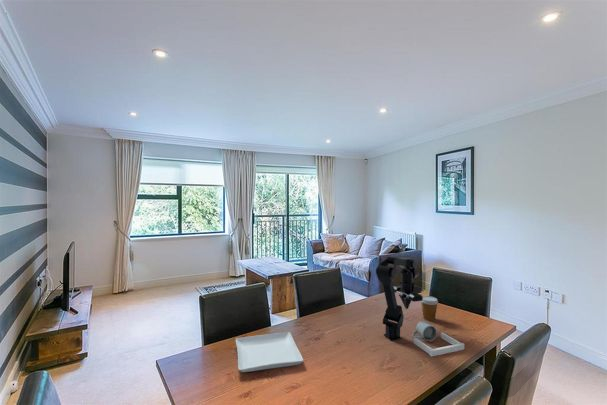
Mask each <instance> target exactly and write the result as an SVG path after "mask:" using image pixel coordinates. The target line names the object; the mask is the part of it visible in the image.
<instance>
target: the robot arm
mask: <svg viewBox="0 0 607 405" xmlns="http://www.w3.org/2000/svg"><path fill="white" fill-rule="evenodd" d="M389 265H391V266H393V267H391V266H389ZM397 266H399V267H400V268H402V270H401V271H400V274H401V281H399V284H400V285H394V282H393V281H394V279H395V276H396V274H397V272H398V270H397ZM375 273H376V274H375V275H376V277H377V279H378V281H379V282H380V283H381V284H382V289H383V292H384V297H385V302H386V310H385V313H384V315H383V318H382V324H383V325H385V333H383V336H384V337H385V338H386V339H388V340H389V341H391V342H392V341H397V340H401V339H402V336H401V328H402V327H403V323H404V318H405V317H404V316H405V315H404V310H403V307H402V305H399V304H398V302H397V297H396V293H397V292H398V296H399V298H400V300H401V303H402V304H403V306H404V308H405V309H406V310H408V309H409V307H410V304H411V303H412V302H415V303H416V302H421V301H423V295H422V294H421V292H422V287H421V286H418V285H416V284H415V282H413V281H414V279H415V278H418V277H419V275H420V270H419V268H418V266H417V264H416V261H415V260H414V258H411V257H405V256H401V257H397V256H392V255H388V256H386V257H385V259H384V260H383V261H380V262H379V263H378V265H377V266H376V269H375Z"/></svg>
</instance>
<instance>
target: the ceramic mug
mask: <svg viewBox="0 0 607 405" xmlns="http://www.w3.org/2000/svg"><path fill="white" fill-rule="evenodd" d="M411 335H412V338H413V339H414V338H417V339H418V340H421V339H423V340H425V341H427V342H433V341H434V340H435V339H436V338H437V336H438V331H437V328H436V327H435V326H433V325H432V324H430V323H428V321H424V320H421V321H419V322H418V323H417V324H416V327H415V330H414V331H413V332H412V333H411ZM415 335H417V336H415Z"/></svg>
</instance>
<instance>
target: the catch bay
mask: <svg viewBox="0 0 607 405" xmlns="http://www.w3.org/2000/svg"><path fill="white" fill-rule="evenodd" d="M440 338H441V339H442V340H444V341H446V342H447V343H449V344H451V345H446V346H442V347H437V348H432V347H430V346H428V345H427V344H426V343H424V342H423V341H421V339H417V338H413V344H414V345H416V346H417V347H419V348H420V349H421V350H422V351H424V352H426V353H427V354H428V355H429V356H430V357H435V356H441V355H444V354H446V355H447V354H450V353H453V352H459V351H464V350H465V343H463V342H460V341H458V340H457V339H455V338H453V337H451V336H450V335H447V334H446V333H444V332H441V333H440Z"/></svg>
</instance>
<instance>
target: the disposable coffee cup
mask: <svg viewBox="0 0 607 405" xmlns="http://www.w3.org/2000/svg"><path fill="white" fill-rule="evenodd" d="M422 296H423V295H422ZM420 302H421V309H422V310H421V311H422V317H423V319H424V320H425V321H426V322H434V321H435V320H436V316H437V315H436V314H437V308H438V304H439V301H438V298H436V297H434V296H430V295H428V296H427V295H424V296H423V301H420Z"/></svg>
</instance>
